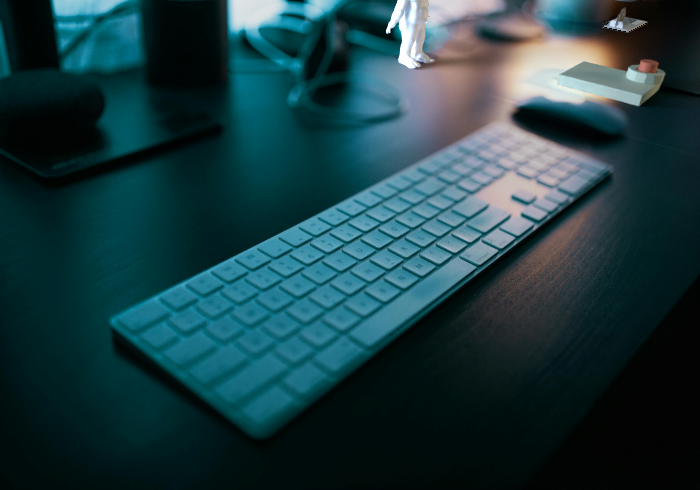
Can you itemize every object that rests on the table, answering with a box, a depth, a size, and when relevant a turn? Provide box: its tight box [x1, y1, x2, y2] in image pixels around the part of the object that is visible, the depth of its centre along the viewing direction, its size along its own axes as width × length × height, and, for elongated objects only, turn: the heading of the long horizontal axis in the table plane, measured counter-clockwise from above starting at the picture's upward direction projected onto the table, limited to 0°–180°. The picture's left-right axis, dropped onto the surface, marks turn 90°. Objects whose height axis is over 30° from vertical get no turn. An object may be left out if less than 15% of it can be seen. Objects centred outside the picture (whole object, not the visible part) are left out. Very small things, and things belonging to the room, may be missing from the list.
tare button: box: [638, 58, 659, 73], centre depth 99 cm, size 3×3×2 cm
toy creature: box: [385, 0, 436, 69], centre depth 103 cm, size 12×6×12 cm, turn 140°
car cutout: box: [603, 7, 648, 33], centre depth 144 cm, size 15×7×4 cm, turn 140°
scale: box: [556, 61, 666, 107], centre depth 101 cm, size 14×12×4 cm
